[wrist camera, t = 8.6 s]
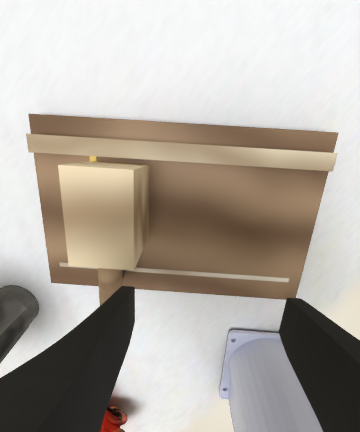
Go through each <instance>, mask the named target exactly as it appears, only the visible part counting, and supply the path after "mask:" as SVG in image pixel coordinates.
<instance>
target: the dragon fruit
mask: <svg viewBox="0 0 360 432" xmlns="http://www.w3.org/2000/svg"><path fill="white" fill-rule="evenodd" d="M110 408H111V409H110ZM119 410H120V409H119V408H118V407H114V406H110V407H109V406H107V409H106V412H105V416H104V419H103V423H102V427H101V430H100V432H125V431H124V430H123V429H120V426H121V425H123V424H125V423H126V421H127V415H126V414H124V413H122V412H123V411H121V410H120V411H119ZM119 417H121V418H119Z"/></svg>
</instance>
